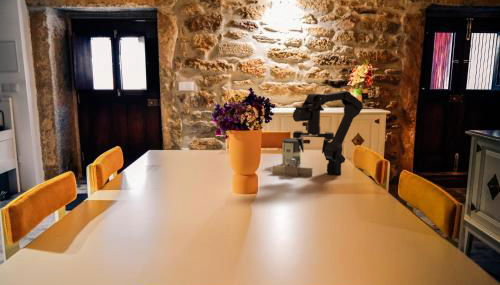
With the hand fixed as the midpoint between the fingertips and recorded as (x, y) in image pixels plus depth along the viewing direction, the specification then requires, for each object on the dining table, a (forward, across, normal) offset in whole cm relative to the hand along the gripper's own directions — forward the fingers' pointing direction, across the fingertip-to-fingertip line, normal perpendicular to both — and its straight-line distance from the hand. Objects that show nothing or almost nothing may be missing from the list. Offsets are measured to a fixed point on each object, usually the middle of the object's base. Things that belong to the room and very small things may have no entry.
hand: (312, 152), depth 176 cm
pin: (+12, +10, -2) cm, 16 cm away
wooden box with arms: (+12, +10, -2) cm, 16 cm away
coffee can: (+12, +14, -22) cm, 29 cm away
